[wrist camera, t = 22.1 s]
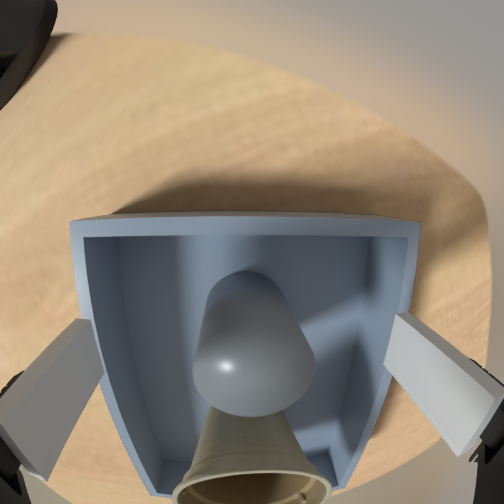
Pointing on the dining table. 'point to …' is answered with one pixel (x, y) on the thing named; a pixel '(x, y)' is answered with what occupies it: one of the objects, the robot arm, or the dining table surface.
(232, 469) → the flower pot
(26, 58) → the robot arm
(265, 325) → the canister
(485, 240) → the dining table surface
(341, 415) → the tote
